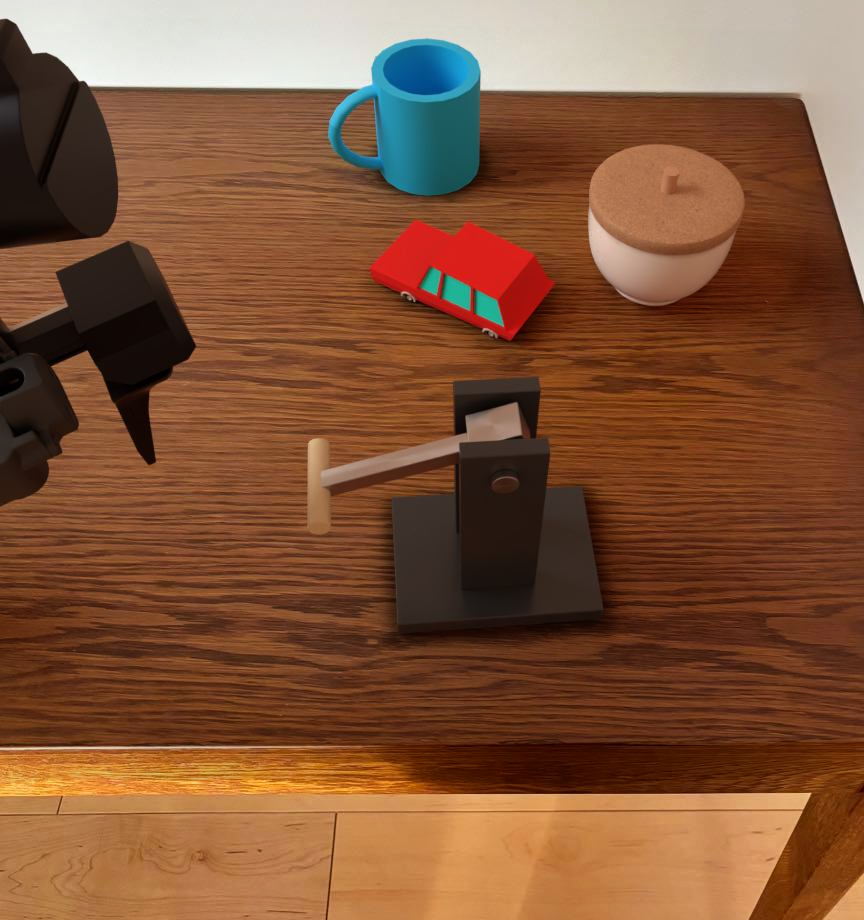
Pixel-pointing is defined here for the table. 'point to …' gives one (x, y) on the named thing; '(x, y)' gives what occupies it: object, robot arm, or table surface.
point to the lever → (400, 461)
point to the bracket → (495, 532)
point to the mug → (420, 117)
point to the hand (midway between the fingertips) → (62, 499)
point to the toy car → (465, 276)
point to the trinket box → (662, 221)
